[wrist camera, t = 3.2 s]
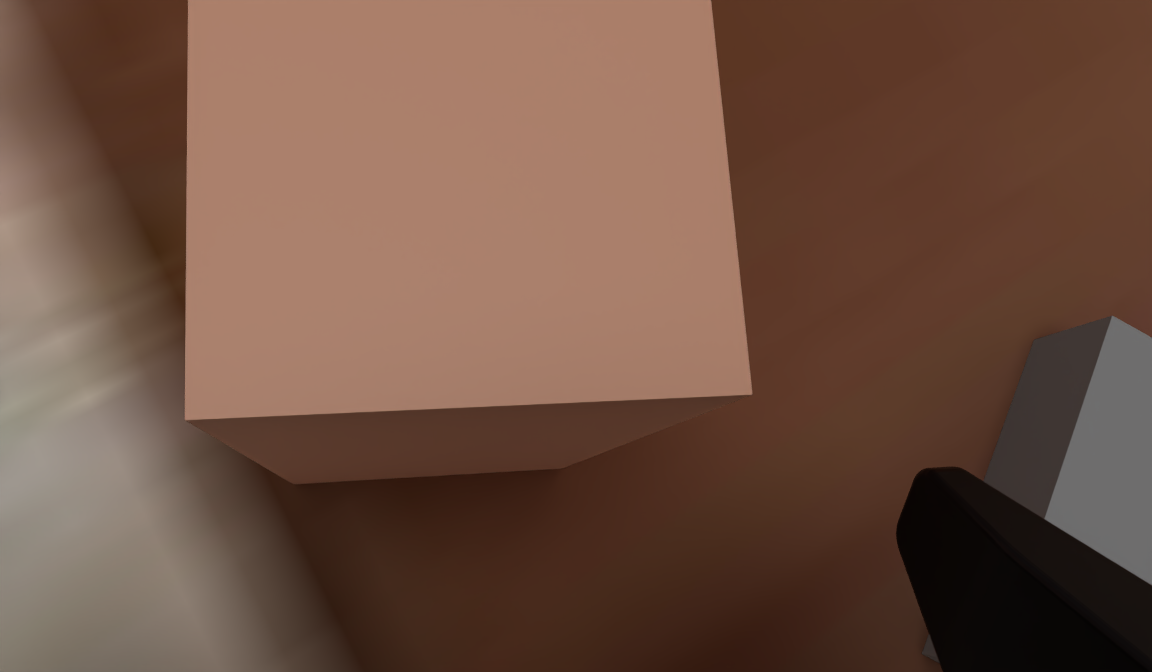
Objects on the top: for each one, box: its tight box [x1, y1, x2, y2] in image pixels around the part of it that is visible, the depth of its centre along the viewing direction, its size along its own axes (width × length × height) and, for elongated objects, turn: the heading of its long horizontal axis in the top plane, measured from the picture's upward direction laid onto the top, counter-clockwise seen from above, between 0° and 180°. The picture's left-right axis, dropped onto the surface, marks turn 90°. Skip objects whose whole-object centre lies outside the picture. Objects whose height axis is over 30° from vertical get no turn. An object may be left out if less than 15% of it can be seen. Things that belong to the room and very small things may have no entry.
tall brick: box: [185, 0, 752, 484], centre depth 15 cm, size 6×6×11 cm
